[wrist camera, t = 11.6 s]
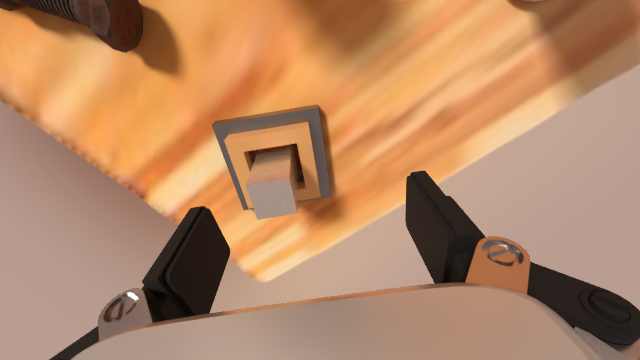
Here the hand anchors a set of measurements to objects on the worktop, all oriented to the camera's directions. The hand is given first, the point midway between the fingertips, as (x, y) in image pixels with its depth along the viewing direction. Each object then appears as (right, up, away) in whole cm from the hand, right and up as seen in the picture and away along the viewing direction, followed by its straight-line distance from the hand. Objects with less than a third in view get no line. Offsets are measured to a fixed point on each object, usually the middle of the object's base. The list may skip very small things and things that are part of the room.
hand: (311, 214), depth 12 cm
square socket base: (-5, +5, +22) cm, 23 cm away
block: (-5, +5, +22) cm, 23 cm away
